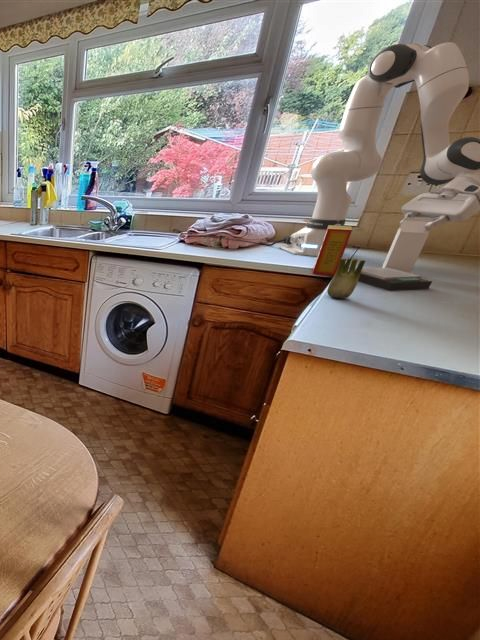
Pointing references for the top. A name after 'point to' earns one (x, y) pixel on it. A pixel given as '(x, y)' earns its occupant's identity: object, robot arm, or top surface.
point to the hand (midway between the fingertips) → (414, 226)
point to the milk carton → (407, 244)
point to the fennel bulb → (345, 278)
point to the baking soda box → (332, 249)
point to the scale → (392, 279)
